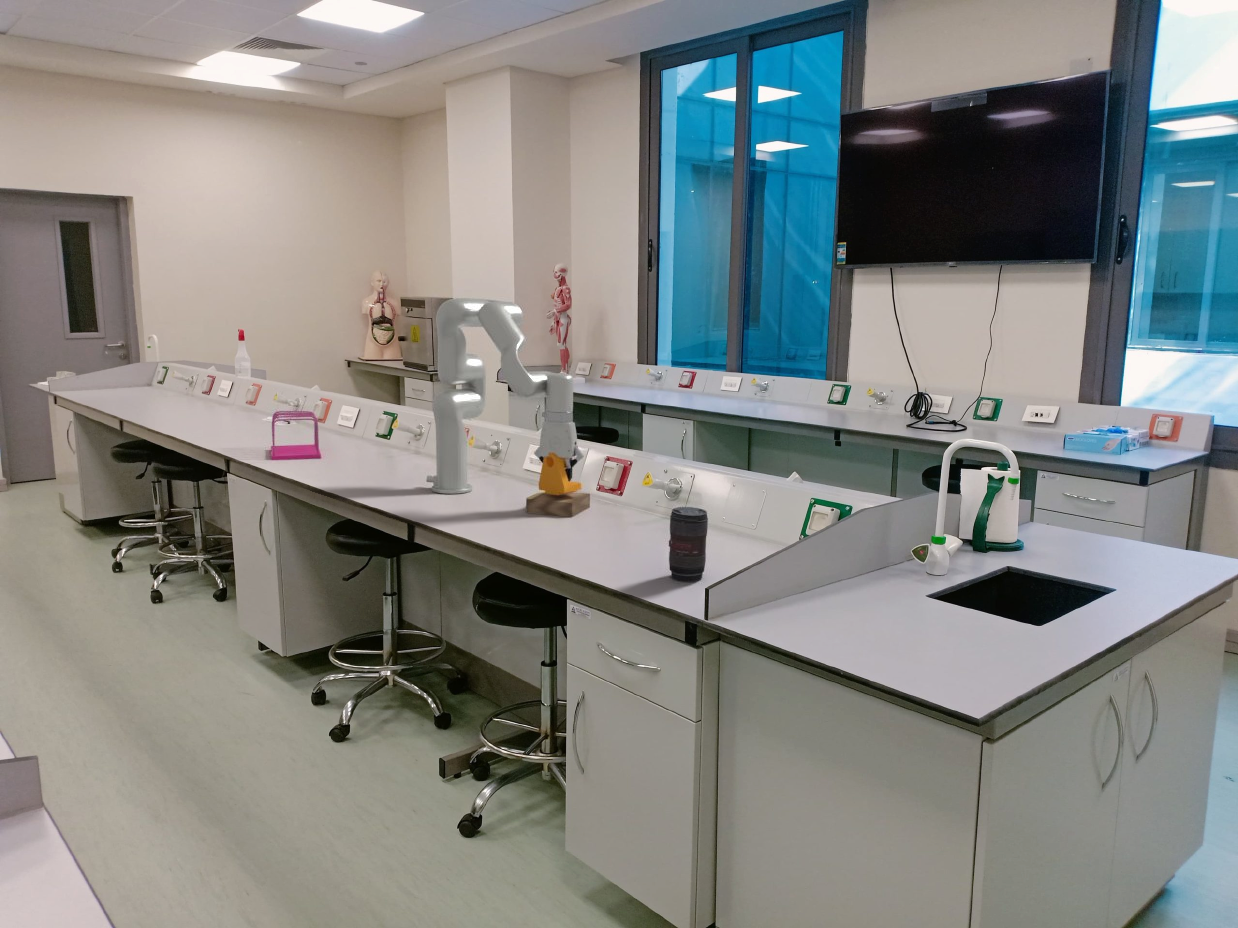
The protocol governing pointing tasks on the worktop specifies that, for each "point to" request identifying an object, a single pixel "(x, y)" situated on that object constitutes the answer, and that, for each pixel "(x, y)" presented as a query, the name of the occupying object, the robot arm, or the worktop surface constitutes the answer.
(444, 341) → the robot arm
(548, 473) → the bracket
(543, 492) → the dock
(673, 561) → the camera lens
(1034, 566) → the worktop surface
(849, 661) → the worktop surface
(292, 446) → the file sorter
